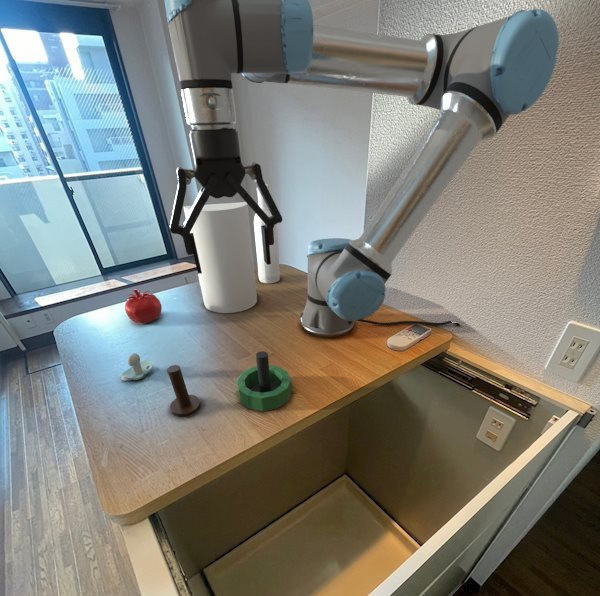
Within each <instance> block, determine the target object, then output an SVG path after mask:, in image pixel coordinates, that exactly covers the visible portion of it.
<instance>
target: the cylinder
mask: <svg viewBox="0 0 600 596" xmlns="http://www.w3.org/2000/svg"><path fill="white" fill-rule="evenodd" d="M192 206H193V205H183V211H184V216H185V219H186V218H187V216H188V214H189V212H190V210H191V208H192ZM190 233H193V235H194V239H195V244H196V248H197V253H198V258H199V262H200V267H201V271H202V273H200V274H198V273H197V276H198V282H199V286H200V291H201V295H202V300H203V304H204V306H205V308H206V309H207V310H209V311H211V312H214V313H218V314H234V313H240V312H244V311H246V310H249V309H251V308H253V307H254V306H255V305H257V302H258V294H257V285H256V274H255V273H256V272H255V266H254V264H255V263H254V255H253V246H252V235H251V226H250V216H249V205H248V204H247V203H246V202H245V201H242V202H241V201H239V202H227V203H225V202H224V203H211V204H205V205H204V207H203V209H202V211H201V212H200V214H199V216H198V218H197V220H196V222H195V224H194V226H193V228H192V230H191V231H190Z"/></svg>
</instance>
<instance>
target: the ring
mask: <svg viewBox="0 0 600 596" xmlns="http://www.w3.org/2000/svg"><path fill="white" fill-rule="evenodd" d="M269 373H270V381H271V382H274V383H276V384H277V385H278V386H279V387H278V388H277V389H275V390H273V391H269V392H264V393H260V392H254V391H252V389H250V388H252V387H253V386H254V385H255V384H257V383H259V378H258V369H257V365H255V366H251V367H250V368H248V369H246V370H244V371H242V372H241V374H240V375H239V376H238V377H237V379H236V385H237V393H238V396H239V400H240V403H241V404H243V405H244V406H245V407H247V408H248V409H250V410H254V411H261V412H266V411H271V410H277V409H279V408H280V407H281V406H283V405H285V404H287V403H288V402H289V399H290V397H291V395H292V379H291V376H290V374H289V372H288V371H287V370H285V369H283V368H282V367H280V366H277V365H270V364H269Z"/></svg>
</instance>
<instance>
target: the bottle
mask: <svg viewBox="0 0 600 596" xmlns="http://www.w3.org/2000/svg"><path fill="white" fill-rule="evenodd" d="M265 184H266V186H267V188H268V190H269V191H270V188H269V184H268V183H265ZM256 193H257V204H258V205H259V207H260V208H261V209H262V210H263V211H264V212H265V213H266V215H267V216H268V217H271V216H272V215H271V213H270V211H269V209H268V207H267V205H266V203H265V201H264V199H263V197H262V195H261V193H260V192H259V190H258V188H257V187H256ZM253 218H254V219H253V229H254V240H255V249H256V260H257V262H256V263H257V271H258V272H257V275H258V280H259V282H260V283H263V284H275V283H278V282H279V281H280V280H281V270H280V256H279V238H278V235H279V234H278V223H277V224H275V225H274V228H273V233H274V244H273V245H269V247H270V260H271V264H269V265H267V264H266V262H265V261H264V253H263V243H262V232H261V226H263V225H265V223H264V222H263V221H262V220H261V218H260V217H259V216H258V215H257V214H256V213H255V214H254V217H253Z"/></svg>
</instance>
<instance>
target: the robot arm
mask: <svg viewBox="0 0 600 596" xmlns="http://www.w3.org/2000/svg"><path fill="white" fill-rule="evenodd" d="M163 2H164V8H165V13H166V20H167V27H168V31H169V37H170V41H171V47H172V51H173V57H174V61H175V66H176V71H177V76H178V80H179V81H178V82H179V87H180V92H181V93H180V94H181V98H182V103H183V109H184V113H185V117H186V118H185V120H186V124H187V125H189V126H191V130H189V133H188V135H189V139H190V144H191V150H192V155H193V156H192V157H193V161H194V168H193V169H192V168H191V169H190V168H183V167H182V166H179V167H177V168H176V175H177V182H178V184H177V187H176V188H177V189H176V194H175V198H174V203H173V208H172V213H171V218H170V224H169V231H170V233H171V234H174V235H180V236H181V237H182V240H183V243H184V248H185V252H186V254H187V255H188V256H191V255H193V258H194V264H195V267H196V271H197V275H198V274H200V273H202V271H201V267H200V262H199V258H198V253H197V248H196V244H195V239H194V235H193V233H190V231H191V230H192V228H193V226H194V224H195V222H196V220H197V218H198V216H199V214H200V212H201V211H202V209H203V207H204V205H206V203H207V202H208V200H209V198H210V197H212V198H214V199H222V198H224V197H226V198H234V197H235V196H236V195H237V194H238V195H239V196H240V198H241V199H242V200H243V202H246V203H247V205H248V207H249V208H250V209H251V210H252V211H253V212H254V213H255V214H257V215H258V216H259V217H260V218H261V220H262V221H263V222H264V223H265V225H263V226H261V232H262V243H263V253H264V261H265V262H266V264H267V265H269V264H271V260H270V247H269V245H273V244H274V233H273V228H274V225H275V224H277V225H278V224H281V223H282V222H283V216H282V214H281V212H280V210H279V208H278V206H277V204H276V202H275V200H274V198H273V197H272V194H271V193H270V189H269V190H268V188H269V187H268V188H267V186H266V184H267V183H266V182H265V180H264V178H263V173H262V167H261V164H259V163H258V162H252V163H251V164H248V165H244V164H243V161H242V157H241V149H240V140H239V139H240V138H239V131H237V128H234V125H235V124H236V123H237V116H236V115H237V114H236V106H235V97H234V90H233V88H234V87H233V81H232V74H237V75H239V74H241V75H242V77H244V78H245V79H246V80H247V81H249V82H251V83H254V84H262V83H264V82H265V83H266V82H267V83H274V84H289V85H297V86H306V87H314V88H315V87H316V88H324V89H334V90H343V91H350V92H351V91H352V92H359V93H360V92H361V93H370V94H379V95H387V96H398V97H406V99H407V102H408V103H409V104H410V105H415V106H423V107H427V108H431V109H435V110H439V111H440V114H439V116H438V118H437V119H436V121H435V122H434V124H433V125H432V127H431V128H430V130H429V132H427V134H426V136H425V138H423V141H422V142H421V144H420V145H419V147H418V148H417V150H416V151H415V153H414V154H413V156H412V157H411V159H410V161H408V163H407V165H406V166H405V168H404V170H403V171H402V172H401V174H400V175H399V177H398V178H397V180H396V182H395V184H394V185H393V187H391V189H390V191H389V192H388V194H387V195H386V197H385V199H384V200H383V201H382V203H381V205H380V206H379V208H378V209H377V211H376V212H375V214H374V215H373V217H372V219H371V220H370V222H369V223H368V225H367V226H366V227H365V229H364V231H363V232H362V234H360V237H359V238H356V239H350V238H342V237H338V238H337V237H333V238H332V237H331V238H320V239H315V240H313V241H311V242H310V243H309V244H308V246H307V253H306V257H307V299H306V303H305V306H304V309H303V311H302V312H301V313H300V314H299V315H300V316H299V317H300V326H301V327H300V328H301V329H302V331H303V332H304V333H306V334H307V335H309V336H311V337H315V338H318V339H319V338H320V339H325V340H329V339H331V340H332V339H339V338H342V337H345V336H348V335H349V334H351V333H352V332H353V331H354V329H355V322H360V323H367V324H372V325H377V326H394V325H403V324H404V325H406V324H408V325H409V324H412V325H413V324H414V325H426V326H427V325H428V326H446V325H450V324H452V325H453V324H454V325H455V326H457V327H460V326H461V324H460V323H459V322H458V323H452V322H451V321H452V320H448V321H443V322H431V321H419V320H401V321H391V322H380V321H379V322H378V321H373V320H369V319H367V318H369V317H371V316H372V315H374V314H375V313H376V312H378V310H379V309H380V308H381V307H382V305H383V303H384V301H385V298H386V290H387V288H386V283H387V282H388V280H389V279H390V278H391V277H392V274H393V266H392V265H393V262H394V260H396V257H397V256H398V255H399V253H400V252H401V251H402V249H403V248H404V247H405V245H406V244H407V243H408V242H409V240H410V238H411V237H412V235H413V234H414V233H415V231H416V230H417V229H418V227H419V226H420V224H421V223H422V222H423V221H424V219H425V218H426V217H427V215H428V214H429V212H430V210H431V209H432V208H433V207H434V205H435V204H436V202H437V201H438V200H439V198H440V197H441V196H442V194H443V193H444V191H446V189H447V187H448V186H449V185H450V183H452V180H453V179H454V178H455V177H456V175H457V174H458V173H459V171H460V170H461V168H462V167H463V166H464V164H465V162H466V161H467V160H468V158H469V157H470V156H471V154H472V153H473V152H474V150H475V149H476V148H477V146H478V145H479V144H481V143H484V142H488V141H491V140H492V139H493V138H494V137H495V136H496V134H497V133H498V132H499V130H500V129H501V128H502V126H503V125H504V124H505V123H506V121H507V120H508V118H509V117H510V116H511V115H512V116H513V115H519V114H521V113H522V112H524V111H526V110H528V109H530V108H531V107H532V106H534V104H535V103H536V102H538V100H539V99H540V97H541V96H542V94H543V93H544V92H545V90H546V89H547V86H548V85H549V83H550V80H551V79H552V77H553V73H554V71H555V69H556V64H557V54H558V51H559V47H560V46H559V45H560V44H559V42H560V41H559V32H558V26H557V24H556V21H555V19H554V18H553V16H552V15H551V14H550V13H549V12H548V11H546V10H544V9H540V8H535V9H534V8H533V9H528V10H526V9H522V10H518V11H515V12H513V13H512V14H510V15H509V16H506V17H503V18H500V19H497V20H494V21H490V22H486V23H484V24H480V25H476V26H474V27H471V28H468V29H464V30H461V31H457V32H453V33H447V34H436V33H426V34H424V36H423V37H421V38H420V40H419V39H413V38H405V37H399V36H391V35H385V34H380V33H379V34H378V33H373V32H366V31H365V32H364V31H359V30H353V29H344V28H339V27H333V26H326V25H318V24H314V18H313V17H314V16H313V10H312V5H311V3H310V1H309V0H164V1H163ZM246 175H248V177H249V179H250V180H253V182H254V184H255V186H256V189H257V188H258V190H259V192H260V193H261V195H262V197H263V199H264V201H265V203H266V205H267V207H268V209H269V211H270V213H271V215H272V216H271V217H268V216H267V215H266V213H265V212H264V211H263V210H262V209H261V208H260V207H259V205H258V202H256V201H255V200H254V199H253V198H252V196H251V195H250V194H249V193H248V192H247V190H246V189H245V188H244V187H243V186H242V183H243V181H244V180H245V176H246ZM193 178H195V180H196V181H197V183H199V184H200V185H201V187H200V189H199V192H198V194H197V197H196V198H195V200H194V202H193V204H192V205H191V206H192V208H191V210H190V212H189V214H188V216H187V218H186V217H185V220H184V221H183V224H182V225H180V221H181V217H182V212H183V209H184V207H183V206H184V203H185V198H186V193H187V186H188V185H190V184H191V183H192V179H193Z"/></svg>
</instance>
